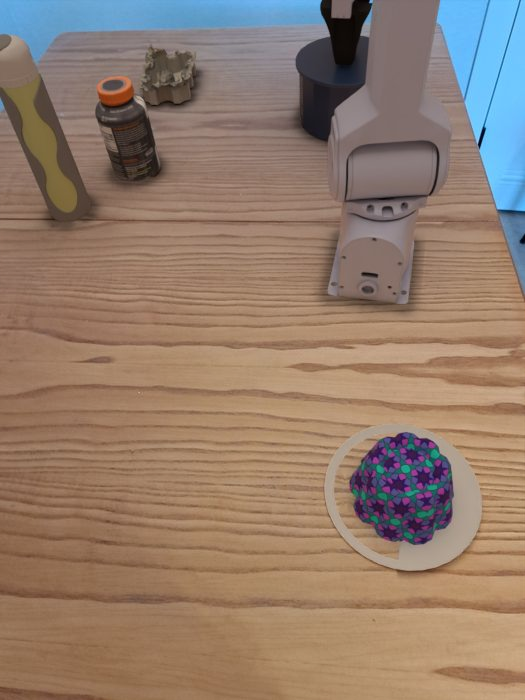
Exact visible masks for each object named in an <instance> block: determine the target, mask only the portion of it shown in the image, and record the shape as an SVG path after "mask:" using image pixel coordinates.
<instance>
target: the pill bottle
mask: <svg viewBox="0 0 525 700" xmlns="http://www.w3.org/2000/svg"><path fill="white" fill-rule="evenodd" d="M96 93H97V95H98V100H99V101H98V103H97V104H96V105H95V110H94V115H95V118H96V121H97V124H98V127H99V130H100V133H101V136H102V140H103V142H104V146H105V149H106V152H107V155H108V158H109V161H110V164H111V167H112V170H113V173H114V175H115V177H117V178H118V179H120V180H123V181H128V182H137V181H143V180H146V179H148V178H153V177H155V176H156V175H157V173H158V172H159V171H160V169H161V160H160V157H159V153H158V148H157V145H156V139H155V136H154V133H153V128H152V123H151V120H150V116H149V112H148V108H147V107H148V106H147V104H146V102H145V99H143V98H142V97H141V95H139V94H137V93H136V92H135V89H134V86H133V82H132V80H131V79H130V78H129V77H126V76H123V75H122V76H120V75H115V76H110V77H107V78H104V79H102V80H101V81H99V83H98V84H97V85H96Z"/></svg>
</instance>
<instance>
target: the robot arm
mask: <svg viewBox="0 0 525 700" xmlns="http://www.w3.org/2000/svg"><path fill="white" fill-rule="evenodd" d="M440 4H441V0H372V2H371V0H321V1H320V4H319V11H320V15H321V17H322V18H323V20H324V23H325V25H326V28H327V30H328V34H329V37H330V38H331V44H332V51H333V56H334V61H335V64H340V65H352V63H353V61H354V57H355V54H356V50H357V45H358V42H359V39H360V36H362V35H361V34H362V30H363V27H364V24H365V22H366V20H367V18H368V17H369V15H370V12H371V15H370V27H369V36H368V37H369V47H368V58H367V70H366V81H365V85H364V86H363V87H362V88H360V89H359V90H358V91H357V92H355V93H354V94H353V95H352V96H350V97H349V98H348V99H346V100H345V101H344V102H343V103H341V104H340V105H339V106H338V107H337V108H336V109H335V111H334V116H333V117H332V120H331V133H330V135H329V138H328V141H327V157H326V158H327V181H328V189H329V195H330V196H331V198H332V199H334V200H335V202H336V203H341V210H340V211H341V212H340V225H339V226H340V227H339V229H340V230H339V235H338V241H337V245H336V250H335V254H334V258H333V263H332V268H331V273H330V276H329V281H328V286H327V290H326V291H327V294H328V295H330V296H335V297H343V298H351V299H358V300H359V299H360V300H366V301H367V300H368V301H375V302H384V303H391V304H399V305H406V304H408V303H409V298H410V288H411V279H412V269H413V260H414V250H415V240H414V236H415V231H416V226H417V221H418V216H419V211H420V209H424V208H426V207H427V203H428V197H435V196H437V195H439V193H440V192H441V191H442V189H443V188H444V187H445V184H446V183H447V180H448V175H449V170H450V160H451V159H450V158H451V157H450V156H451V154H450V153H451V150H450V148H451V142H452V141H451V140H452V136H453V126H452V121H451V119H450V116H449V113H448V111H447V108H446V106H445V104H444V103H443V102H442V101H441V100H440V99H439V98H438V97H437V96H435V95H434V94H433V93H432V92H430V91H429V90H428V89H426V83H427V78H428V77H427V76H428V72H429V66H430V60H431V55H432V50H433V43H434V39H435V38H434V37H435V33H436V27H437V20H438V15H439V11H440ZM334 283H335V285H332V284H334ZM403 292H405V294H403Z"/></svg>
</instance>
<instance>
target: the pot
mask: <svg viewBox="0 0 525 700" xmlns="http://www.w3.org/2000/svg"><path fill="white" fill-rule="evenodd" d="M298 74H299V73H298ZM298 77H299V79H298V80H299V81H298V83H299V87H298V88H299V119H300V124H301V126H302V128H303V129H304V130H305V131H306V132H307V133H308V134H309V135H311V136H313V137H314V138H317V139H319V140H322V141H325V142H328V138H329V135H330V133H331V120H332V117H333V116H334V111H335V109H336V108H337V107H338V106H339V105H340V104H341V103H343V102H344V101H345V100H346V99H348V98H349V97H350V96H352V95H353V94H354V93H355V92H357V91H358V90H359V89H360V88H362V87H358V88H330V87H325V86H321V85H317V84H314V83H312V82H310V81H308V80H306V79H305V78H303V77H302V76H301V75H300V74H299V75H298Z"/></svg>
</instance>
